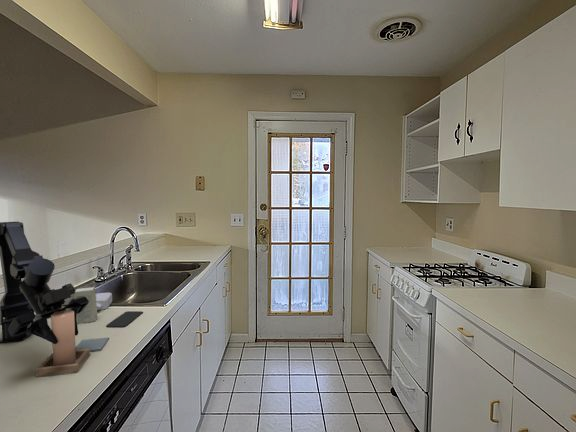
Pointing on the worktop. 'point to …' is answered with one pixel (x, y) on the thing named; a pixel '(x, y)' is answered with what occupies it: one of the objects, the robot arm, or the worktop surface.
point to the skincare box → (91, 309)
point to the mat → (92, 344)
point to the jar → (63, 337)
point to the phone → (124, 319)
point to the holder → (49, 370)
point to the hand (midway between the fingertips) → (67, 338)
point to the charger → (103, 300)
